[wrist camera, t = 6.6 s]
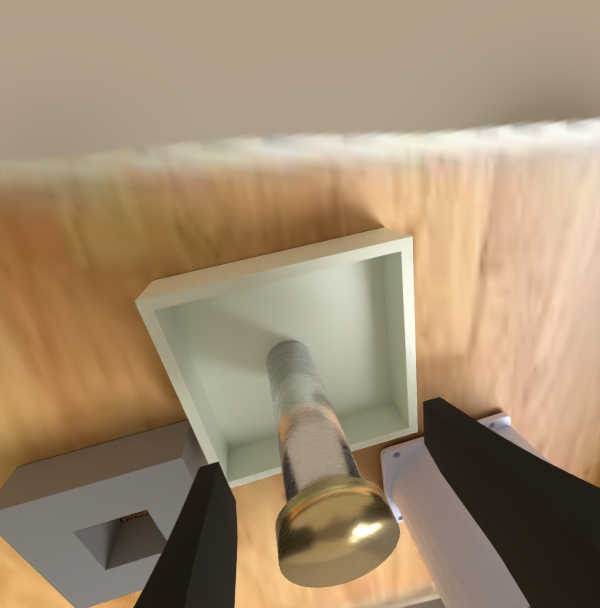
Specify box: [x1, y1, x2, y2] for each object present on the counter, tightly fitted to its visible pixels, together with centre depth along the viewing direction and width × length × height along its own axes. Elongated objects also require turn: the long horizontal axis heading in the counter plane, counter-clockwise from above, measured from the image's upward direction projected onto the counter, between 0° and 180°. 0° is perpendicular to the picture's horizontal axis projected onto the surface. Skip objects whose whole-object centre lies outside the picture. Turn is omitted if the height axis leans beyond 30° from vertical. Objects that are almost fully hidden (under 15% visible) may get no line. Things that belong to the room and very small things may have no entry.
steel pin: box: [266, 340, 400, 588], centre depth 12 cm, size 3×3×9 cm
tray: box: [135, 227, 418, 489], centre depth 15 cm, size 11×11×2 cm
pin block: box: [0, 420, 208, 608], centre depth 17 cm, size 9×9×2 cm
